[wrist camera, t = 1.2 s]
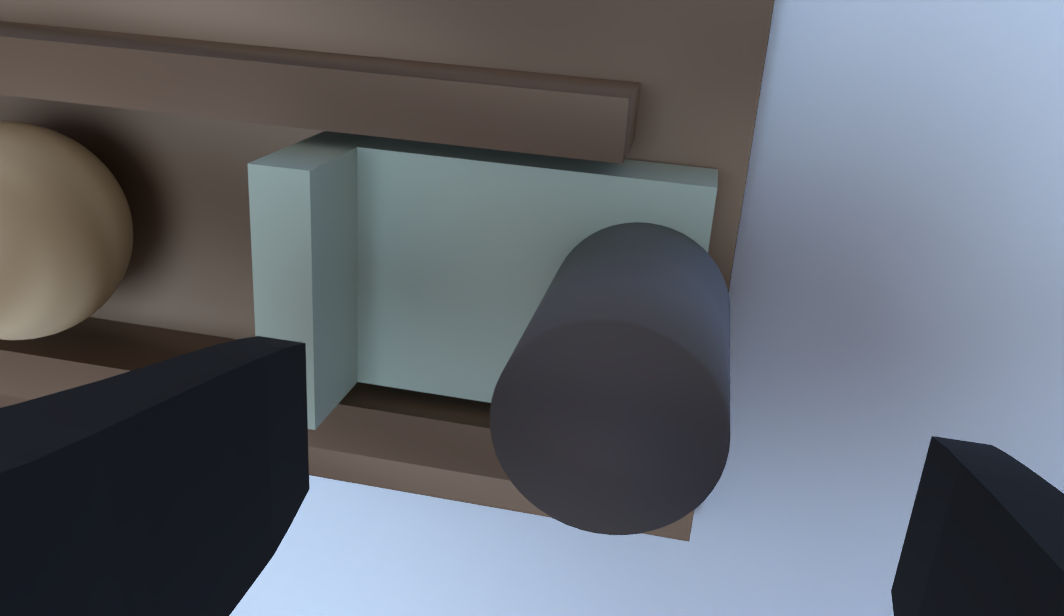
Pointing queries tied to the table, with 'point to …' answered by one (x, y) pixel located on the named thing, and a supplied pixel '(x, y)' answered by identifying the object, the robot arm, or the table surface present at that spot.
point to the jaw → (512, 308)
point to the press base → (365, 109)
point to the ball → (56, 232)
